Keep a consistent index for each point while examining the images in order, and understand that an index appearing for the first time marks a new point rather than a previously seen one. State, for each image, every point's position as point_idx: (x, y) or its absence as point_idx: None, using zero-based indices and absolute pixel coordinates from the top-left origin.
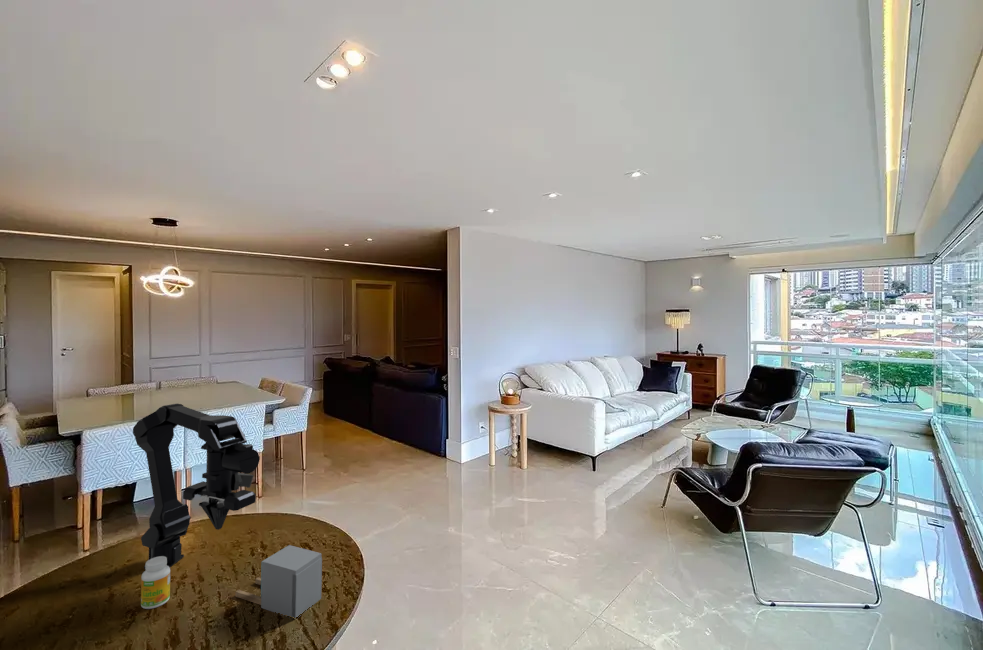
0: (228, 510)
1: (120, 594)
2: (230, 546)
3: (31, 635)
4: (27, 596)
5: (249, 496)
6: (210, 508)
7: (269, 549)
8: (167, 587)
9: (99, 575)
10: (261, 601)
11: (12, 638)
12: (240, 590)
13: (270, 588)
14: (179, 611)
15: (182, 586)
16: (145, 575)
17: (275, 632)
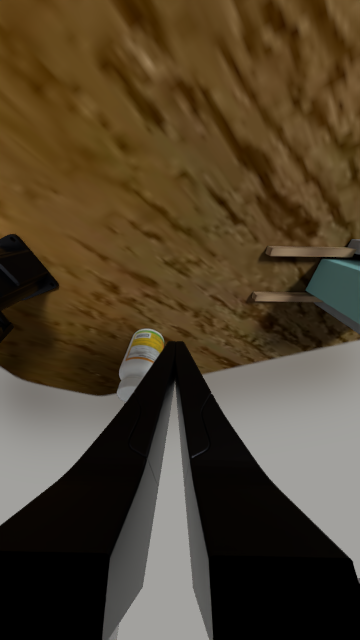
0: (236, 437)
1: (89, 344)
2: (30, 101)
3: (105, 391)
4: (13, 372)
5: None
6: (151, 524)
7: (180, 26)
8: (160, 351)
9: None
10: (322, 308)
11: (97, 395)
12: (262, 296)
13: None
14: (197, 341)
15: (142, 307)
16: None
17: None
